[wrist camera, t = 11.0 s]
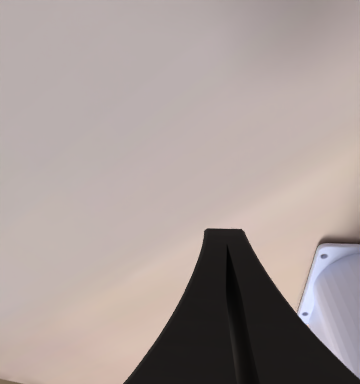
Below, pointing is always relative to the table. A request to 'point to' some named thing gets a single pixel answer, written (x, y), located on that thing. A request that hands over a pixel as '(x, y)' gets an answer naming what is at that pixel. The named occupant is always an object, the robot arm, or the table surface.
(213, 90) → the table surface
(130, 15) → the table surface
